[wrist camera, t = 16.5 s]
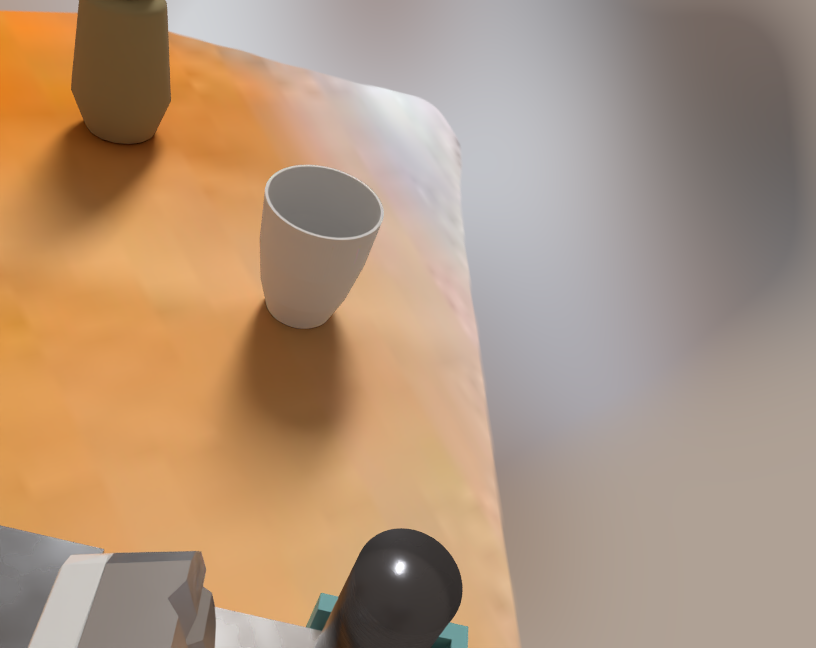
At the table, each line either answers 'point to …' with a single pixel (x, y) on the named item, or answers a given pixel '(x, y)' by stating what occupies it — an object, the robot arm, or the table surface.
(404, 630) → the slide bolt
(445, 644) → the socket
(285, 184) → the cup
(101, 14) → the squeeze bottle
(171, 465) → the table surface
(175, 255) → the table surface
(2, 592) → the sleeve
